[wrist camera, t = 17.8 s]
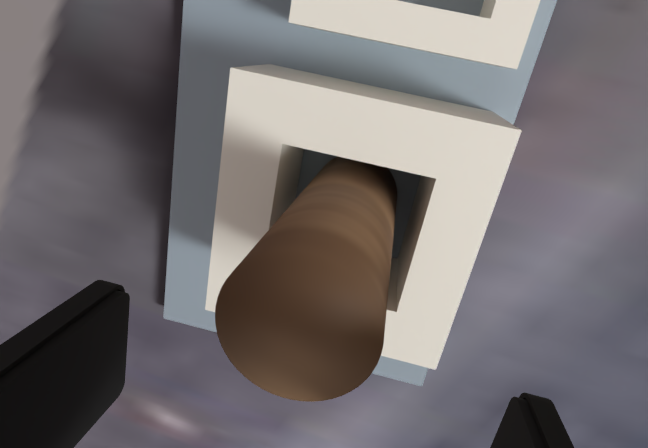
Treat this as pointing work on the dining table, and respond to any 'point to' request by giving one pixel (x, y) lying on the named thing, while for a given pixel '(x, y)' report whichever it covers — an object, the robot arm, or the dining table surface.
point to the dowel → (315, 288)
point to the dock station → (348, 139)
